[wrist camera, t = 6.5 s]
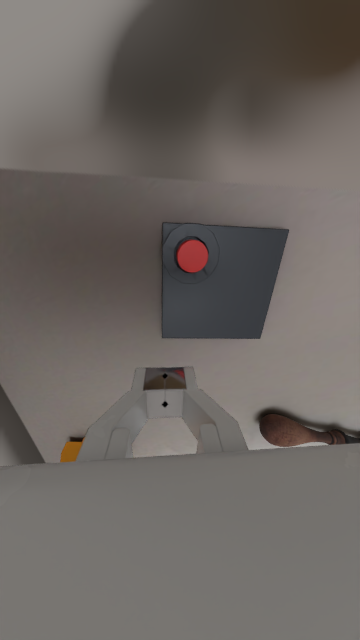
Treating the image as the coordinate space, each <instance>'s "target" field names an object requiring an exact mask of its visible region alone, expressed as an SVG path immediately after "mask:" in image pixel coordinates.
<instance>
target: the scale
mask: <svg viewBox="0 0 360 640" xmlns="http://www.w3.org/2000/svg"><path fill="white" fill-rule="evenodd" d="M288 233H289V230H288V229H270V228H253V227H235V226H218V225H202V224H195V223H184V224H182V223H165V222H163V244H162V338H230V339H260V337H261V334H262V330H263V326H264V322H265V319H266V315H267V311H268V307H269V304H270V300H271V296H272V292H273V289H274V285H275V281H276V277H277V274H278V270H279V266H280V262H281V259H282V255H283V251H284V248H285V244H286V240H287V236H288ZM187 240H197V241H200V242H202V243H203V244H204V245H205V247H206V248H207V251H208V260H207V263H206V265H205V266H204V267H203V269H201V270H200V271H198V272H193V273H191V272H187V271H185V270H183V269H182V268H181V266H180V265H179V263H178V261H177V250H178V248H179V246H180V245H181V244H182V243H183V242H184V241H187Z"/></svg>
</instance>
